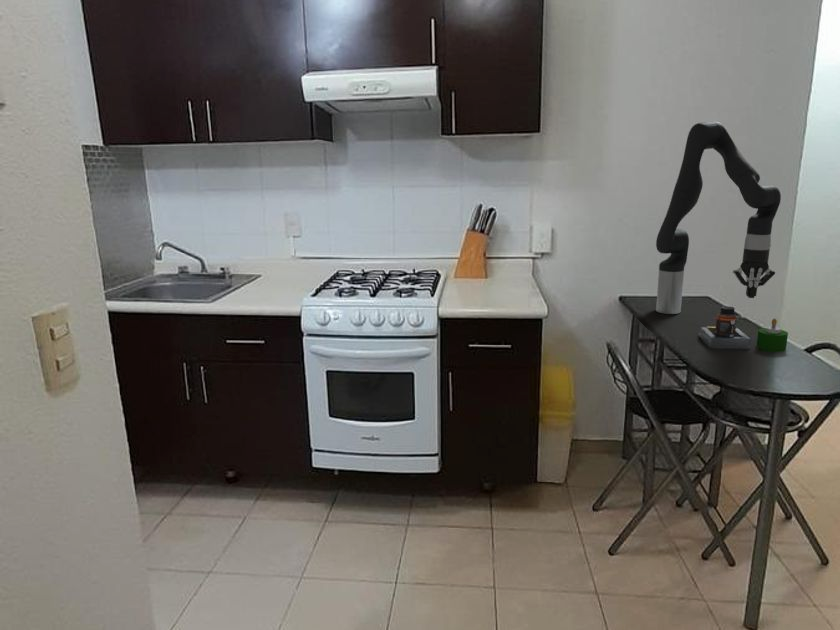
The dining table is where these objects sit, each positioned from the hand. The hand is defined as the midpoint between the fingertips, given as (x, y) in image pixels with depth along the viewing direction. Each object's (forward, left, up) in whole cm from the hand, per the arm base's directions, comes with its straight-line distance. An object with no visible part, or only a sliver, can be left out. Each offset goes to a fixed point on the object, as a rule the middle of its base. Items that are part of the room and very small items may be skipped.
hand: (750, 297), depth 200 cm
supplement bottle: (+9, -10, -13) cm, 19 cm away
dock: (+8, -10, -14) cm, 19 cm away
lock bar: (0, -9, -14) cm, 16 cm away
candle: (+13, +3, -14) cm, 19 cm away
